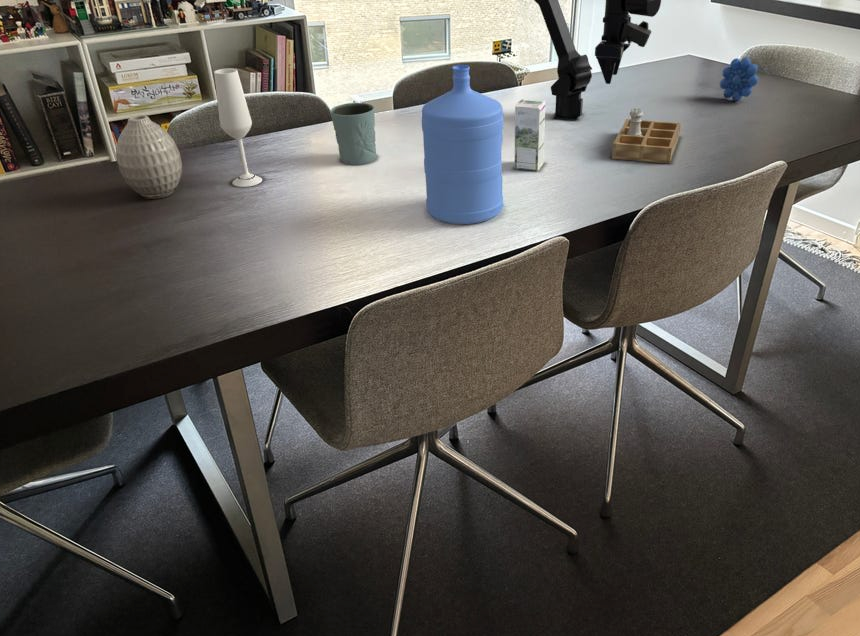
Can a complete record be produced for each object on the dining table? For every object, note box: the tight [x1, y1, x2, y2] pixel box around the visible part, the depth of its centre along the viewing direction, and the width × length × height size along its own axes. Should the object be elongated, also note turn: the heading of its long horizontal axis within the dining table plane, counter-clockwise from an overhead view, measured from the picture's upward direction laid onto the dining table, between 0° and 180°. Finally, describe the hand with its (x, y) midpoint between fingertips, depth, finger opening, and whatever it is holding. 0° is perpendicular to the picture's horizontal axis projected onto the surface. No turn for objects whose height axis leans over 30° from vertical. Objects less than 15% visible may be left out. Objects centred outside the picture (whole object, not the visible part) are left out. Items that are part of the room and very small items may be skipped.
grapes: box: [719, 56, 759, 102], centre depth 210 cm, size 12×7×12 cm, turn 37°
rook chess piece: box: [626, 108, 644, 136], centre depth 180 cm, size 4×4×8 cm
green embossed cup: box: [330, 102, 377, 166], centre depth 177 cm, size 10×10×12 cm
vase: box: [115, 114, 183, 200], centre depth 160 cm, size 13×13×17 cm
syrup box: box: [514, 99, 547, 172], centre depth 169 cm, size 6×6×14 cm
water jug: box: [421, 64, 504, 225], centre depth 145 cm, size 16×16×28 cm
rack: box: [611, 118, 682, 164], centre depth 181 cm, size 13×20×4 cm
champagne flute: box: [213, 67, 263, 188], centre depth 163 cm, size 7×7×24 cm
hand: (611, 79), depth 189 cm, fingers open, 9 cm apart
